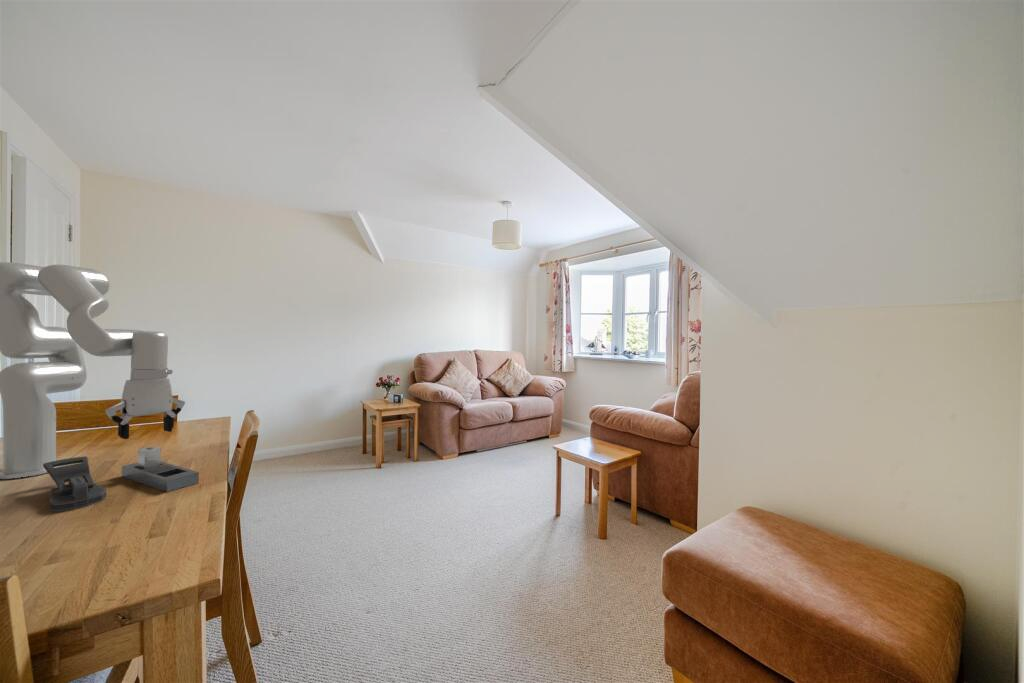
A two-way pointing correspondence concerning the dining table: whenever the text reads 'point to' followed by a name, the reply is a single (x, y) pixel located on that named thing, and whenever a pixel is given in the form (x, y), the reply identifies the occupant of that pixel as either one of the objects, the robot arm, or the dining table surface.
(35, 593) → the dining table surface
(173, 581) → the dining table surface
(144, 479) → the rail
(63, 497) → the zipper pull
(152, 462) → the grey tall square block
